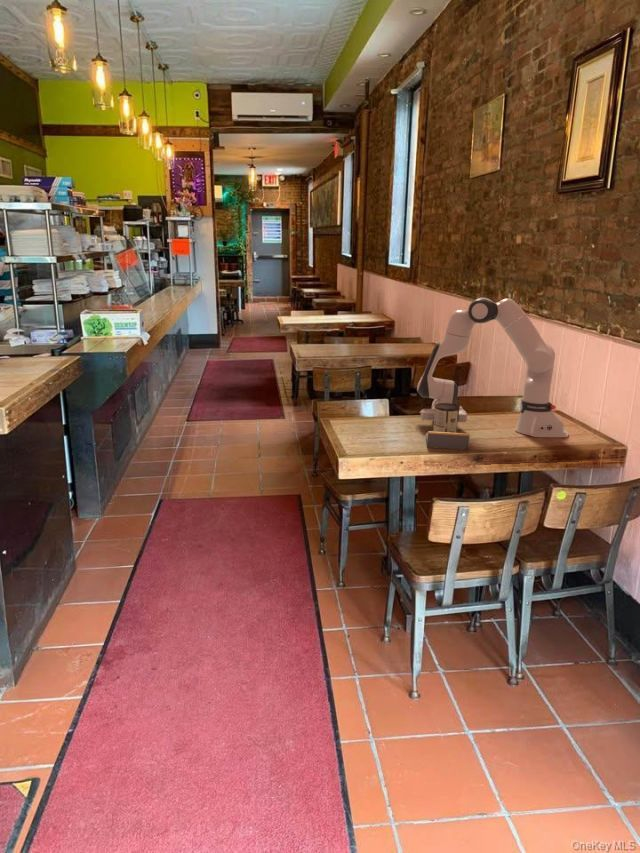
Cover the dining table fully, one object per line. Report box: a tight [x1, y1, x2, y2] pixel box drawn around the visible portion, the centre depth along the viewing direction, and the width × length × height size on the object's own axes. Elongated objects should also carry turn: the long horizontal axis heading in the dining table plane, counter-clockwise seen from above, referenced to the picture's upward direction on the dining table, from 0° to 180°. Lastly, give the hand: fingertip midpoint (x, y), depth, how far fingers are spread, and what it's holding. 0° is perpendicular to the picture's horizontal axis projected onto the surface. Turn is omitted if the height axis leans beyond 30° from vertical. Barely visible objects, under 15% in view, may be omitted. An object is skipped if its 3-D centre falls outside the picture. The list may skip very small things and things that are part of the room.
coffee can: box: [432, 403, 460, 433], centre depth 267 cm, size 10×10×14 cm
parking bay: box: [425, 430, 470, 451], centre depth 259 cm, size 16×13×7 cm
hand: (444, 419), depth 272 cm, fingers closed, pressing on coffee can
